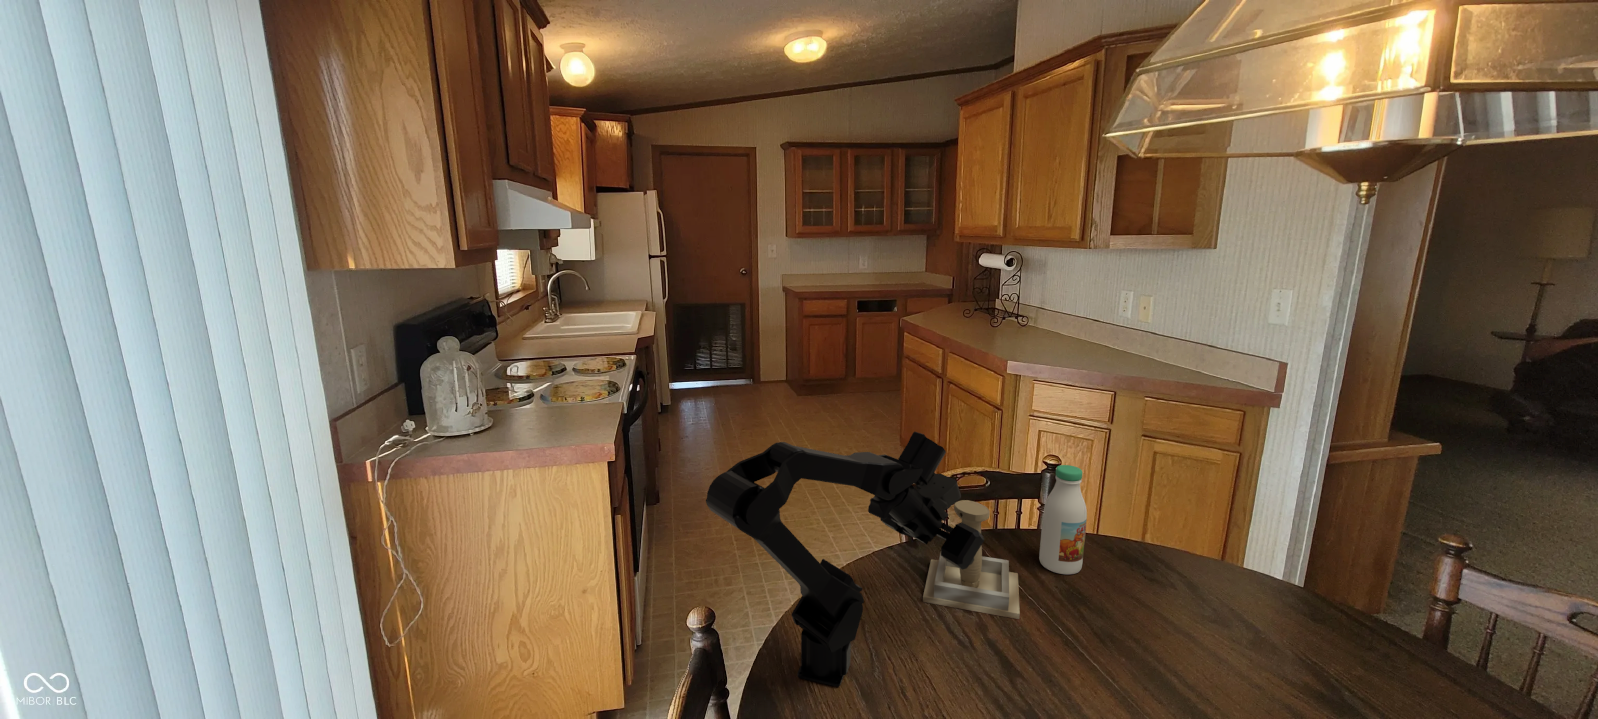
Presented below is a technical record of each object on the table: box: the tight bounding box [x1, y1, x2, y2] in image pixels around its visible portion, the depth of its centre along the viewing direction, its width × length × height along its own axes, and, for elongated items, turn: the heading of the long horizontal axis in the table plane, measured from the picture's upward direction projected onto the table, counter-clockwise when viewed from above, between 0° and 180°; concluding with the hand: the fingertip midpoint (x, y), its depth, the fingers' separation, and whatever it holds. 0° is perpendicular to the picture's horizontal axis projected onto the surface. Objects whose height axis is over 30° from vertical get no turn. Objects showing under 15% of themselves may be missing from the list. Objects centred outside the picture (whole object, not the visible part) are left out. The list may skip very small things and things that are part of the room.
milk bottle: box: [1038, 464, 1088, 575], centre depth 117 cm, size 8×8×20 cm
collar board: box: [922, 552, 1021, 620], centre depth 111 cm, size 16×13×4 cm
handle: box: [953, 499, 991, 588], centre depth 109 cm, size 5×6×15 cm
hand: (951, 550), depth 106 cm, fingers open, 9 cm apart
